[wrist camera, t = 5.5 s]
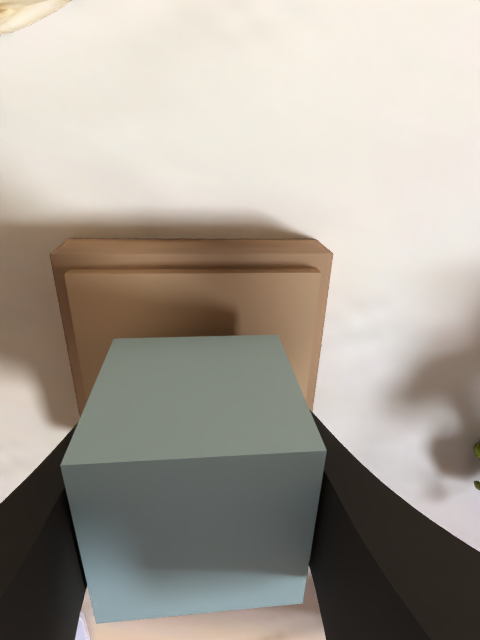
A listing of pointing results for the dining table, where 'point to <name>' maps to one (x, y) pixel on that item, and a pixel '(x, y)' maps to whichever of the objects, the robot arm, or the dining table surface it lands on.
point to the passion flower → (479, 451)
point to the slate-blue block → (194, 478)
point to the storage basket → (25, 12)
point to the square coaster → (191, 296)
